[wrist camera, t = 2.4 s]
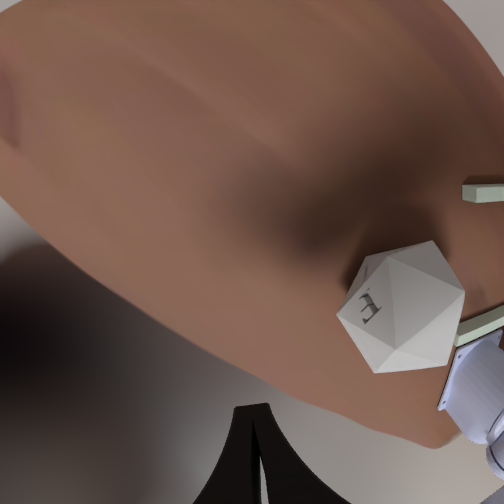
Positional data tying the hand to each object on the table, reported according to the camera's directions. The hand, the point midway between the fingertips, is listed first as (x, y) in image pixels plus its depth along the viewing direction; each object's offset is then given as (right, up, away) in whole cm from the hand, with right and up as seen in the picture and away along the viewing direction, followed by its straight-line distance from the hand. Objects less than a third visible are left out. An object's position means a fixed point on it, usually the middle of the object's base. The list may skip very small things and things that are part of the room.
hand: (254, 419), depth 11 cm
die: (+10, +4, +10) cm, 15 cm away
